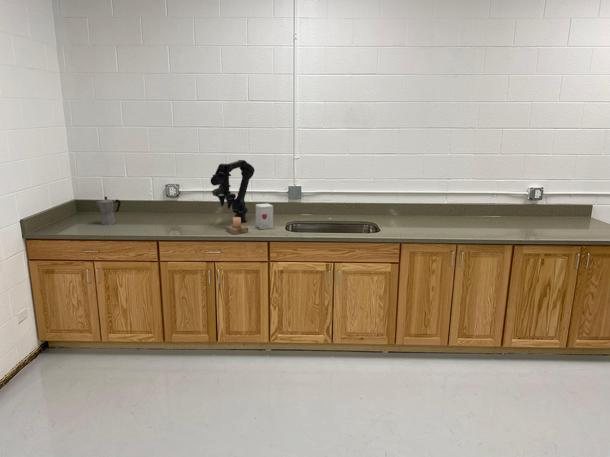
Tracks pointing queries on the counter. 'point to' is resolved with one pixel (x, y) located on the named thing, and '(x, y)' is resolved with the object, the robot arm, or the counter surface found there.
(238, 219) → the terracotta cylinder
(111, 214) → the coffeepot
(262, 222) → the supplement box
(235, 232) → the tan flat block
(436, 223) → the counter surface
